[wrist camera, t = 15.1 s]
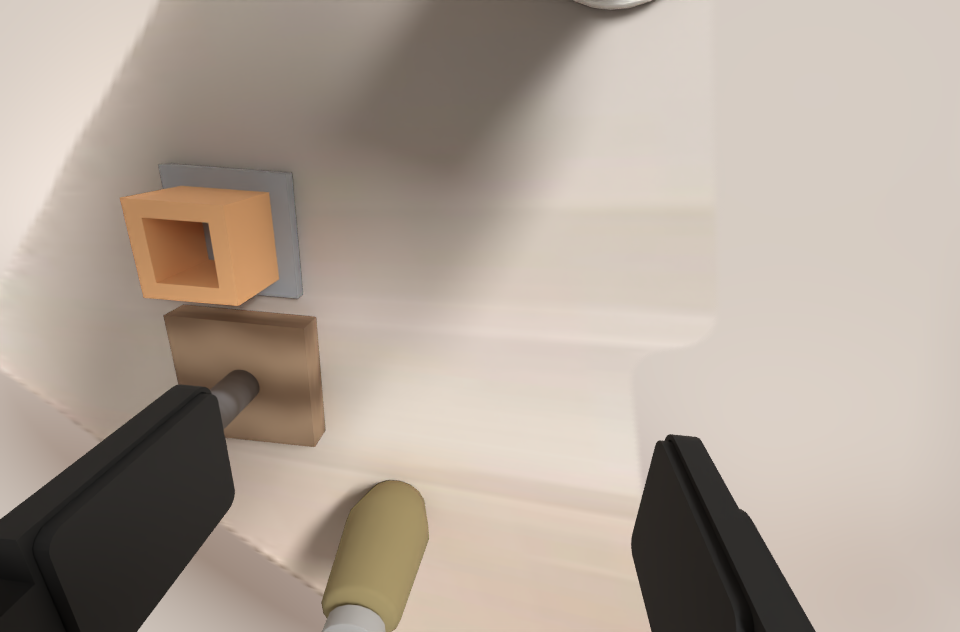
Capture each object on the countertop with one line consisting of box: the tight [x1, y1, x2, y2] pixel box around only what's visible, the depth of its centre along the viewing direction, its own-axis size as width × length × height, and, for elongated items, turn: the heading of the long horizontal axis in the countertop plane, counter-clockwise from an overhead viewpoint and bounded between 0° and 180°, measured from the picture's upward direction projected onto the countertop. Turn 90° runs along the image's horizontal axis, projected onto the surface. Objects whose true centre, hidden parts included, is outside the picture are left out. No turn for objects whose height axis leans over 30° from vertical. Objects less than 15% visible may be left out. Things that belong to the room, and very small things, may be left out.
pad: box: [158, 163, 303, 298], centre depth 38 cm, size 10×10×1 cm
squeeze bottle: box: [322, 481, 429, 632], centre depth 40 cm, size 8×8×18 cm
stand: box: [163, 305, 325, 447], centre depth 39 cm, size 12×12×10 cm
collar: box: [120, 186, 279, 306], centre depth 35 cm, size 7×7×6 cm
